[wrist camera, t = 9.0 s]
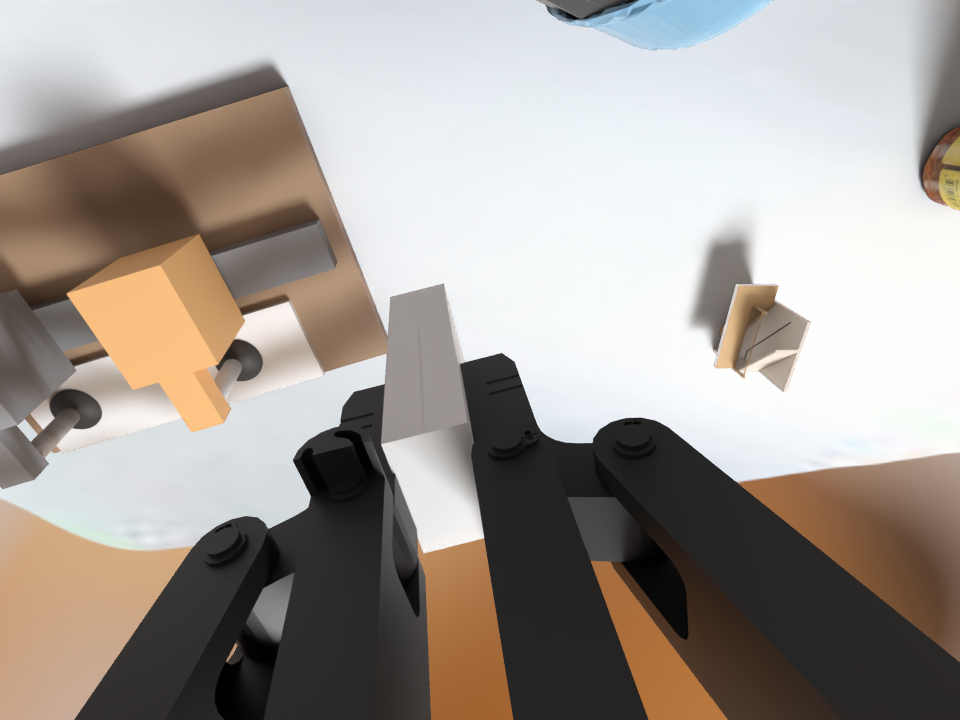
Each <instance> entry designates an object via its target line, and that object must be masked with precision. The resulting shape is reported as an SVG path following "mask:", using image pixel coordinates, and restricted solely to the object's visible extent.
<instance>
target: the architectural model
mask: <svg viewBox="0 0 960 720" xmlns="http://www.w3.org/2000/svg"><path fill="white" fill-rule="evenodd" d="M777 290H778V285H776V284H736V286H735V290H734V293H733V297H732V301H731V304H730V308H729V311H728V315H727V319H726V322H725V326H723V327H722V328H721V331H720V333H721V334H722V337H721V341H720V344H719V348H718V349H714V351H713V352H714V353H715V354H716V359H715V363H714V367H715V368H732V369H733V370H734V371H735V372H737V373H738V374H739V375H740V376H741V377H743V378H745V372H757V371H759V372H760V373H761V374H763V375H764V376H765V377H766V378H767V379H769V380H770V381H771V382H772V383H773V384H774V385H776V386H777V387H778V388H779V389H780V390H781V391H783V392H786V391H787V388H788V386H789V383H790V380H791V377H792V374H793V371H794V369H795V366H796V363H797V360H798V357H799V354H800V351H801V349H802V346H803V343H804V340H805V337H806V334H807V332H808V329H809V326H810V323H811V322H810V321H808V320H806V319H805V318H803V317H802V316H800V315H798V314H797V313H795V312H793V311H792V310H790V309H789V308H787V307H785V306H784V305H782V304H781V303H779V302H777V301H776V300H774V299H775V296H776V293H777ZM741 372H744V374H742V373H741Z"/></svg>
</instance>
